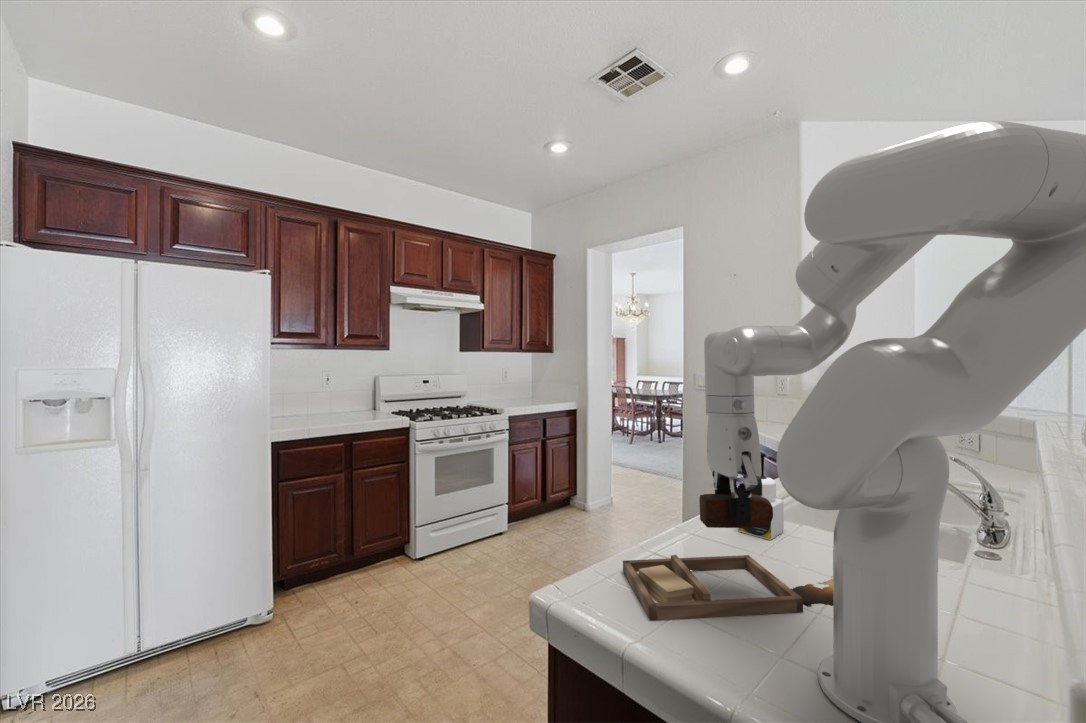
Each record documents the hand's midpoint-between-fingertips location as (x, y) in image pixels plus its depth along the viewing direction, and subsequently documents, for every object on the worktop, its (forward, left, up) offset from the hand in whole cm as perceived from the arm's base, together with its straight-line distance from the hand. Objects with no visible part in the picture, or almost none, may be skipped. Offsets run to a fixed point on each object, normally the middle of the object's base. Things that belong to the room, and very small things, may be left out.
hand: (732, 516), depth 78 cm
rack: (+1, +4, -12) cm, 13 cm away
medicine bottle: (+25, -19, -13) cm, 34 cm away
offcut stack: (+1, +11, -13) cm, 17 cm away
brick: (0, 0, -2) cm, 2 cm away
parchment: (-1, -21, -13) cm, 25 cm away
